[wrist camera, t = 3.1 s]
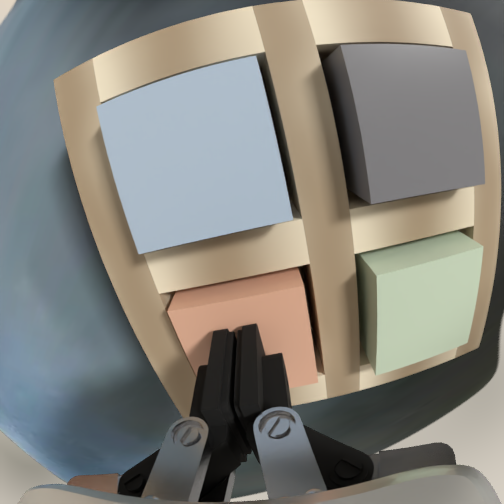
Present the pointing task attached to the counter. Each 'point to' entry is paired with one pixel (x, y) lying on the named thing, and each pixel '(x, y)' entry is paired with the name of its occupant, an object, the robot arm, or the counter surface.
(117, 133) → the key pale blue
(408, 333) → the key sage
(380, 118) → the key charcoal
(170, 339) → the wooden puzzle board
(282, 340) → the key terracotta
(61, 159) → the counter surface
